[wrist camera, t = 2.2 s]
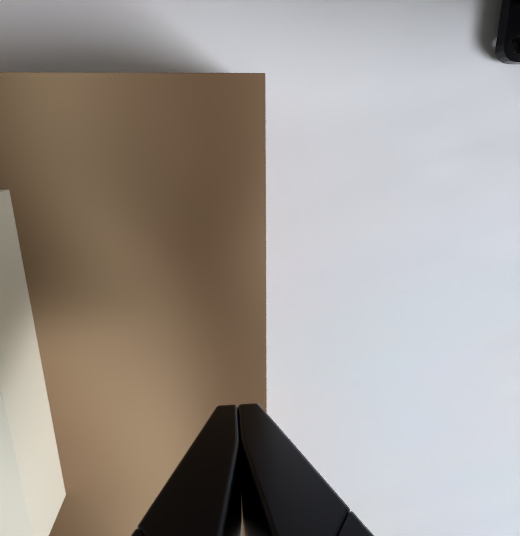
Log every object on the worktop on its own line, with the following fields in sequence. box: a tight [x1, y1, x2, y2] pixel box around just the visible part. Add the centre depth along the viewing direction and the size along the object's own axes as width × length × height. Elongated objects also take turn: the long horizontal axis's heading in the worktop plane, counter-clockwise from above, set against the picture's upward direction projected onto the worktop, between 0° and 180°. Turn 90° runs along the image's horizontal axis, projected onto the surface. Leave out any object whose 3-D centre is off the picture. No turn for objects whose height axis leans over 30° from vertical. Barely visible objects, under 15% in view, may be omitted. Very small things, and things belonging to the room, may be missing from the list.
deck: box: [0, 72, 266, 536], centre depth 14 cm, size 14×22×4 cm, turn 1°
